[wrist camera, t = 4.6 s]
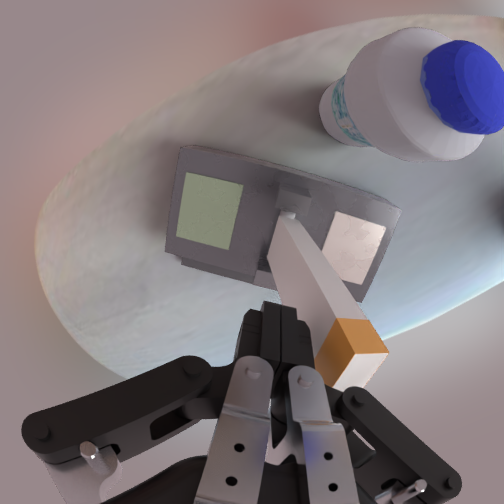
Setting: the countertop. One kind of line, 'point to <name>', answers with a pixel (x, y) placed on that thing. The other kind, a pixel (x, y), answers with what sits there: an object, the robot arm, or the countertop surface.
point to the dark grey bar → (217, 270)
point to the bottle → (417, 97)
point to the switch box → (273, 216)
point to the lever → (324, 307)
